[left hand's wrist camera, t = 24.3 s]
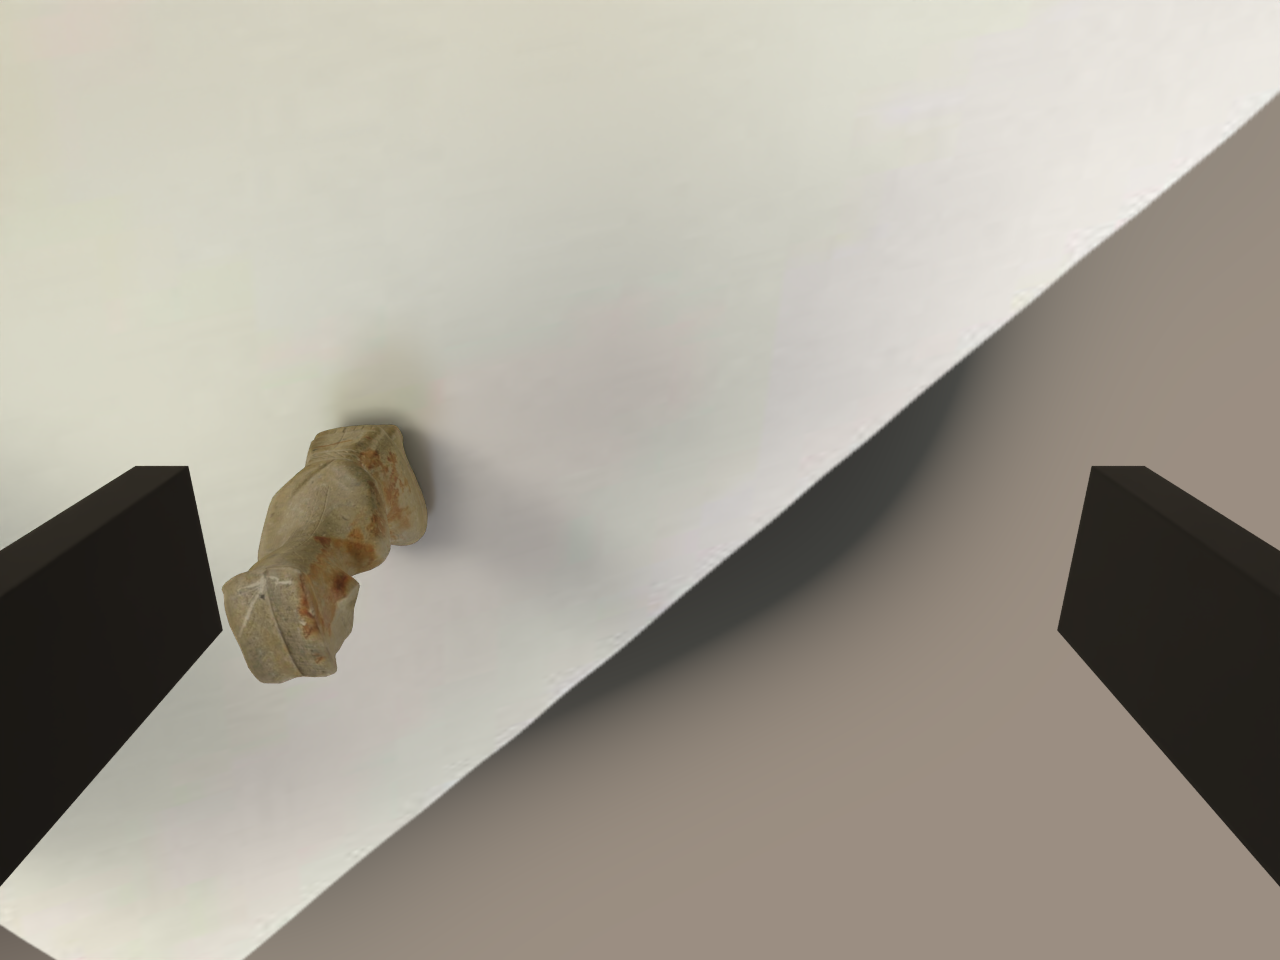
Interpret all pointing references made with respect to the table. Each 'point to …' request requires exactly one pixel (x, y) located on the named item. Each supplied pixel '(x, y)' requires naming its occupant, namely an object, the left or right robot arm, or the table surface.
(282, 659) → the sculpture
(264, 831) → the table surface
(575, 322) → the table surface
